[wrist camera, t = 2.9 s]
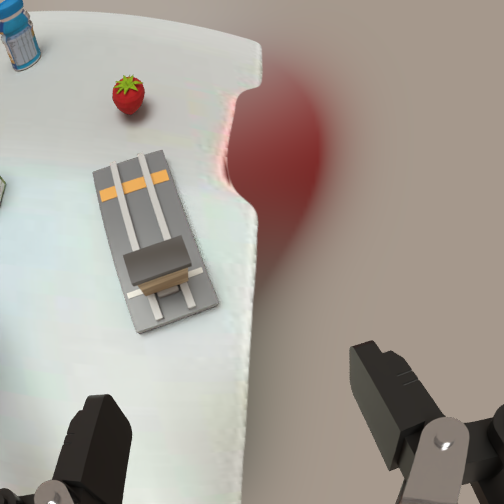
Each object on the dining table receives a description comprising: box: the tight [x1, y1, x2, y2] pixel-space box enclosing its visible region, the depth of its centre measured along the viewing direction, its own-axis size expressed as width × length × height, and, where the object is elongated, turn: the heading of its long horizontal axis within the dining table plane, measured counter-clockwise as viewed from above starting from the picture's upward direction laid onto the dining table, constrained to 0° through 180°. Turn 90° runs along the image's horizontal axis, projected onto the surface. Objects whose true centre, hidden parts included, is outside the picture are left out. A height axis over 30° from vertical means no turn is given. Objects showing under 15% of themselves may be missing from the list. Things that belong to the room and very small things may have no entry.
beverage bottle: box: [0, 0, 41, 71], centre depth 46 cm, size 8×8×20 cm
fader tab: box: [123, 235, 192, 298], centre depth 38 cm, size 4×7×11 cm, turn 113°
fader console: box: [93, 150, 219, 334], centre depth 46 cm, size 26×12×4 cm, turn 23°
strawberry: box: [112, 76, 145, 115], centre depth 50 cm, size 6×8×10 cm
